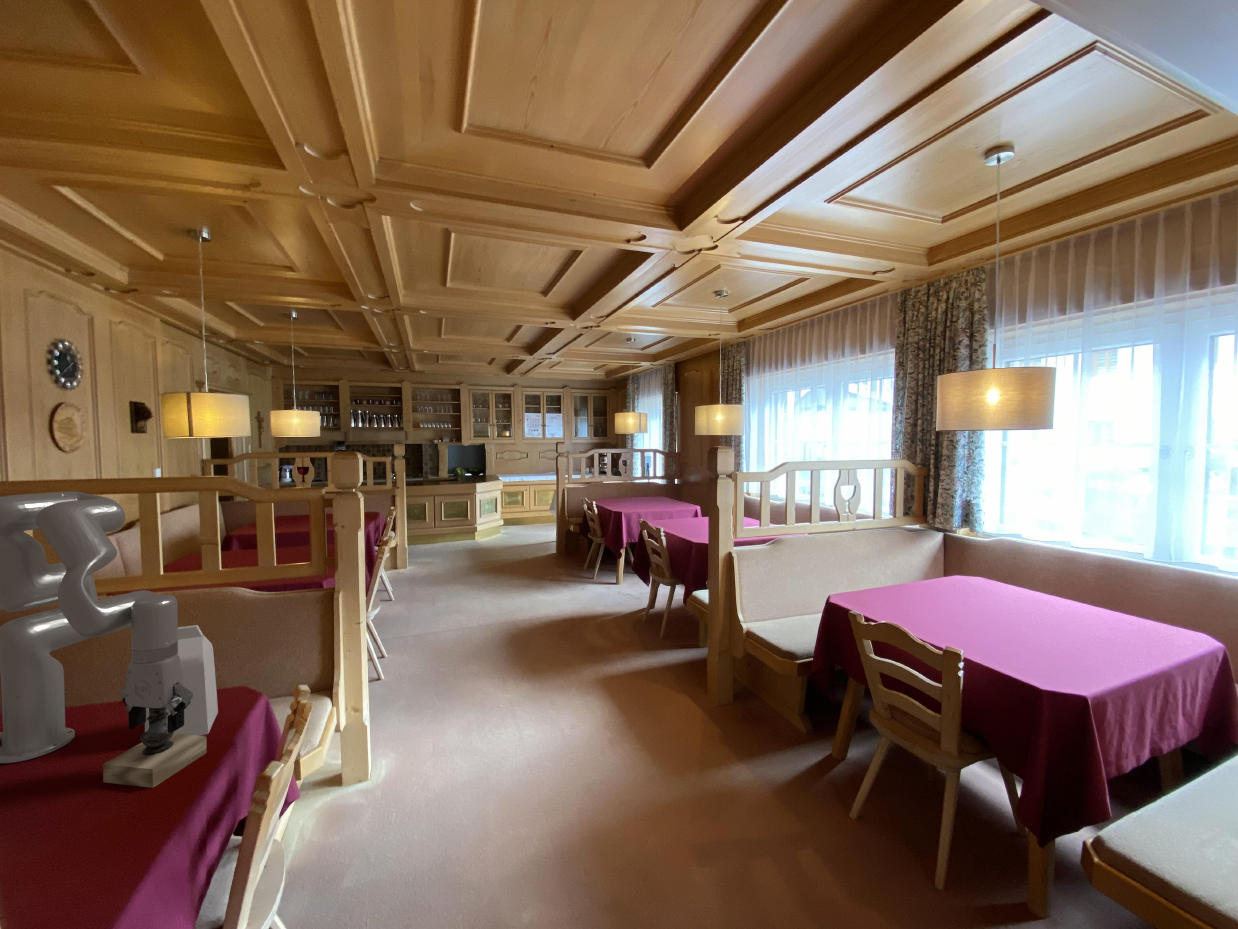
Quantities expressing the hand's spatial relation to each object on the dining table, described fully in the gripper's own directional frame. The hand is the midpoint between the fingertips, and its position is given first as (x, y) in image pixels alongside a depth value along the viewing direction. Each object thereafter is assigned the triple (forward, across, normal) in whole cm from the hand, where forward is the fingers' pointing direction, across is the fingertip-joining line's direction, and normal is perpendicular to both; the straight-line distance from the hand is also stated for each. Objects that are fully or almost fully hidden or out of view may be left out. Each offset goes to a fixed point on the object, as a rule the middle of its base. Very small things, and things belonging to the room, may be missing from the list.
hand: (156, 727), depth 111 cm
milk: (+9, -9, +14) cm, 19 cm away
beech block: (+9, 0, 0) cm, 9 cm away
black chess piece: (+5, 0, 0) cm, 5 cm away
